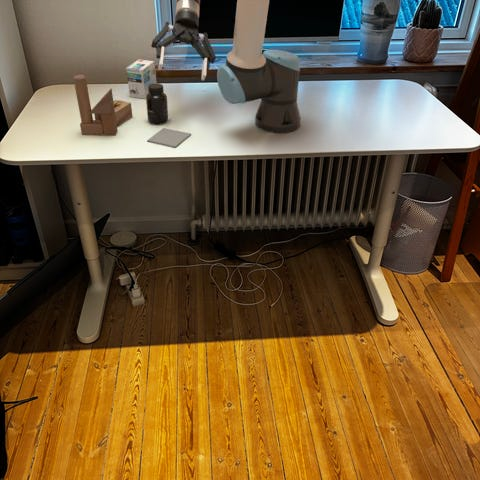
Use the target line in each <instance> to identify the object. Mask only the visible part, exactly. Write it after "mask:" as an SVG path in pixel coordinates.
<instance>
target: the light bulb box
mask: <svg viewBox="0 0 480 480" xmlns="http://www.w3.org/2000/svg"><path fill="white" fill-rule="evenodd" d="M125 68H126V77H127V84H128V92H129V97H130V98H136V99H137V98H138V99H144V100H146V95H147V94H148V93H149V92H148V86H149V85H150V84H154V83H157V74H156V63H155V61H154V60H147V59H146V60H144V59H137V60H136V61H134V62H132V63H131V64H130V65H128V66H127V67H125Z"/></svg>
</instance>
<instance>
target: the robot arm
mask: <svg viewBox="0 0 480 480" xmlns="http://www.w3.org/2000/svg"><path fill="white" fill-rule="evenodd" d="M200 5H201V0H176V6H175V17H174V25H172V24H170V22H169V21H166V22H165V24H164V26H163V28H162V29H161V30H160V31H159V32H158V33H157V34H156V36H155V37H154V38H153V39H152V42H151V45H150V46H151V48H152V49H156V54H155V57H156V59H159V61H158V68H157V69H158V70H159V71H161V70H162V68H163V64H164V54H165V48H167V47H168V46H170V45H171V44H173V43H177V42H178V41H179V43H182V44H184V43H185V44H186V45H190V46H192V48H193V49H195V50H196V52H197V54H198V55H199V56H200V58H201V59H202V60H203V61H202V67H201V81H205V79H206V77H207V72H209V70H210V67H211V64H214V63H215V61H216V59H217V55H216V54H215V51H214V48H213V47H212V45H211V43H210V40H209V37H208V33H207V32H203V33H199V19H200ZM269 6H270V0H237V2H236V11H235V22H234V29H233V30H234V31H233V42H232V50H231V51H229V52H227V54H226V59H225V61H226V62H225V64H221V66H219V68H218V69H217V71H216V79H217V84H218V88H219V91H220V93H221V95H222V97H223V98H224V100H225V101H226V102H228V103H229V104H231V105H238V104H242V105H243V104H245V103H248V102H252V101H253V102H254V101H257V100H260V102H259V104H258V108H257V110H256V112H255V116H254V124H255V126H256V127H257V128H258V129H259V130H262V131H264V132H268V133H274V134H275V133H276V134H282V133H283V134H286V133H290V132H294V131H297V130H298V129H299V128H300V126H301V117H302V116H301V114H300V110H299V104H298V95H299V93H298V91H299V81H300V72H301V61H300V60H301V59H300V57H299V56H298V55H297V54H294V53H292V52H290V51H285V50H281V49H266V50H264V51H263V49H264V42H265V34H266V26H267V21H268V18H267V17H268V12H269ZM171 31H172V34H171V35H169V36H168V37H166V38H164V37H165V36H166V35H167V33H169V32H171ZM201 43H202V44H201Z"/></svg>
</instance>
